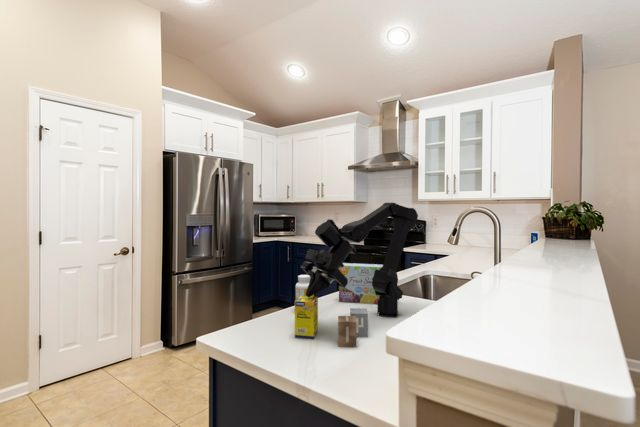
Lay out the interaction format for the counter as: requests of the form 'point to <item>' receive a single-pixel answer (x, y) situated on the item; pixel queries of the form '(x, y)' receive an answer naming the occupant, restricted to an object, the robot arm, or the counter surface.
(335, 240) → the robot arm
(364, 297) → the snack box
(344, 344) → the walnut block
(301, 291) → the supplement bottle
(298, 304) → the supplement box
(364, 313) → the slate block
